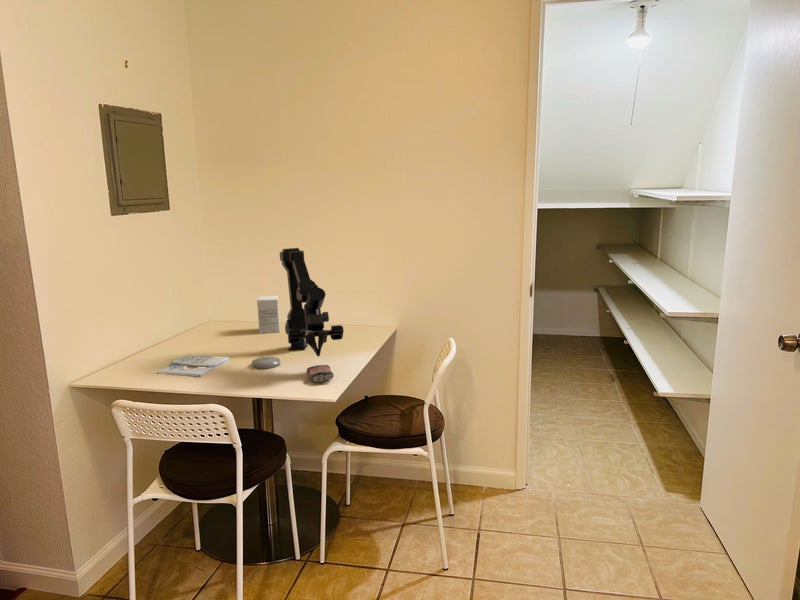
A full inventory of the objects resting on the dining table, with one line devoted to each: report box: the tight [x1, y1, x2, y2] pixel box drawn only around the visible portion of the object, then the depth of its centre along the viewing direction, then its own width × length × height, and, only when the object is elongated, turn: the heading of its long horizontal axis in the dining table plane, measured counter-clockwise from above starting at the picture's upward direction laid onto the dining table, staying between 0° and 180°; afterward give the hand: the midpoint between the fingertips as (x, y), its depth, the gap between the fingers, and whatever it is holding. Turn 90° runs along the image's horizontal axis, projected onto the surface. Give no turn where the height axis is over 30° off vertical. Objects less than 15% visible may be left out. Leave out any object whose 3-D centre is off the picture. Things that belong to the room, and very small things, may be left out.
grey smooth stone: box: [251, 356, 281, 370], centre depth 216 cm, size 10×10×2 cm
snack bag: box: [156, 354, 232, 378], centre depth 216 cm, size 19×20×2 cm
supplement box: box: [256, 295, 281, 334], centre depth 264 cm, size 9×9×15 cm
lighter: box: [306, 364, 334, 383], centre depth 200 cm, size 8×3×10 cm
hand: (318, 355), depth 202 cm, fingers closed
